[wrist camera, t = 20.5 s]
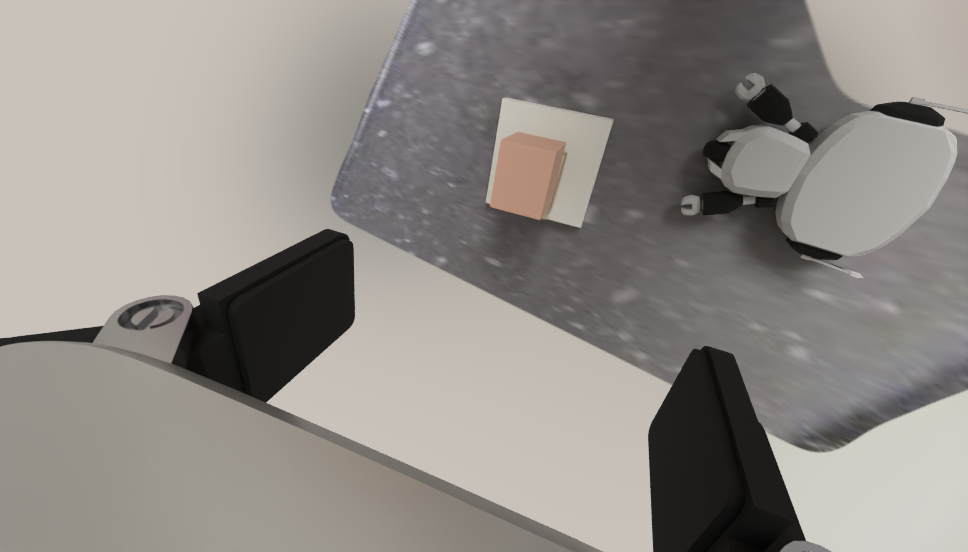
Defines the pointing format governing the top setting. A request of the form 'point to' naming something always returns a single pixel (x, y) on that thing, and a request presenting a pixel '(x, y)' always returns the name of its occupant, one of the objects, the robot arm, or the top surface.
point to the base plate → (582, 148)
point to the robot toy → (832, 172)
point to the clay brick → (526, 174)
